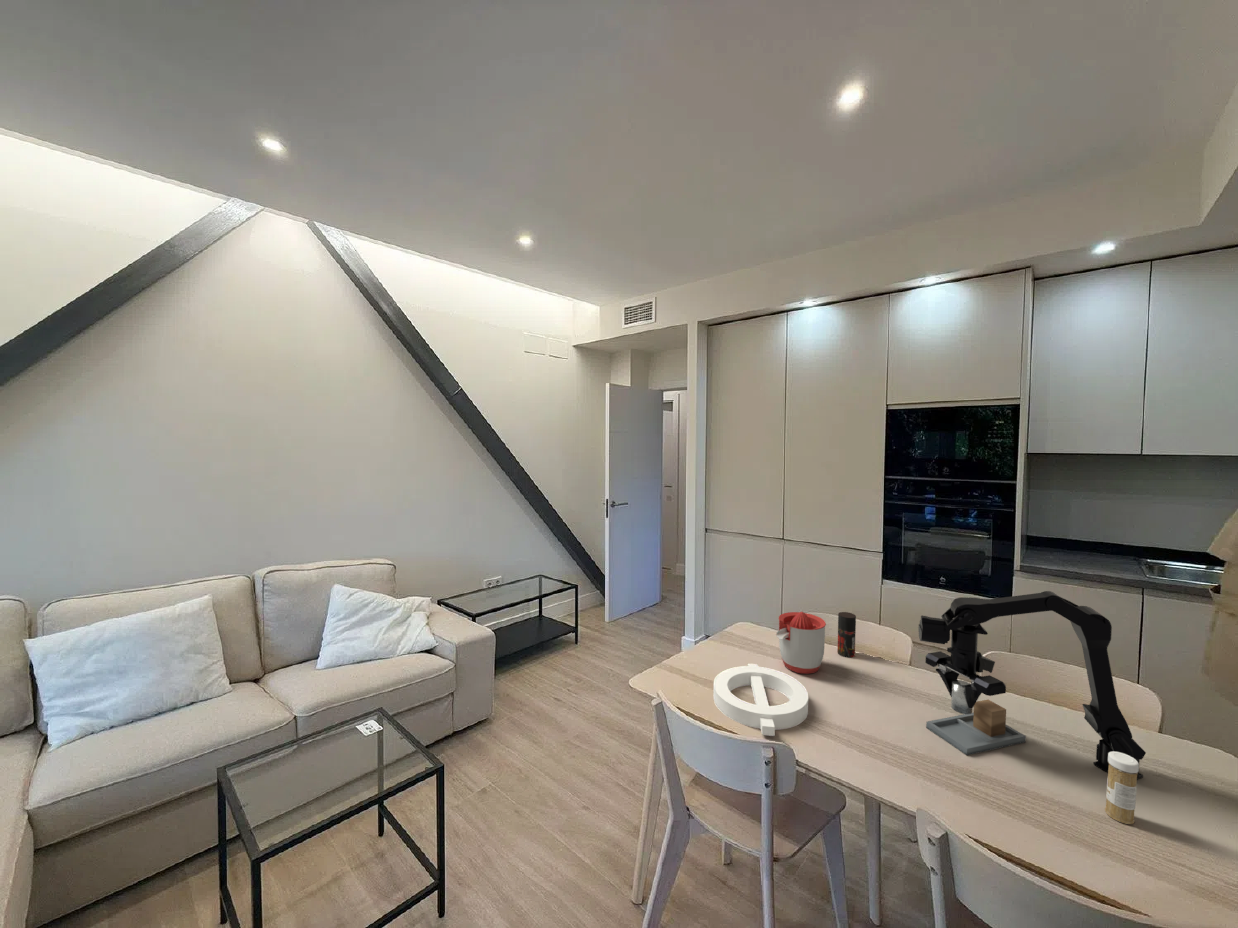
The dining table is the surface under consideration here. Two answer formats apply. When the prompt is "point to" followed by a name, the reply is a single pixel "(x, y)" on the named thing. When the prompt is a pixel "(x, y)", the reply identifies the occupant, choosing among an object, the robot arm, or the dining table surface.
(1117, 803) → the sprinkles bottle
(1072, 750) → the dining table surface
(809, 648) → the citrus juicer
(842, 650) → the deodorant
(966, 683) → the steel cylinder
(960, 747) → the tray
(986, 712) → the walnut block
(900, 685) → the dining table surface
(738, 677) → the ring with crossbar
